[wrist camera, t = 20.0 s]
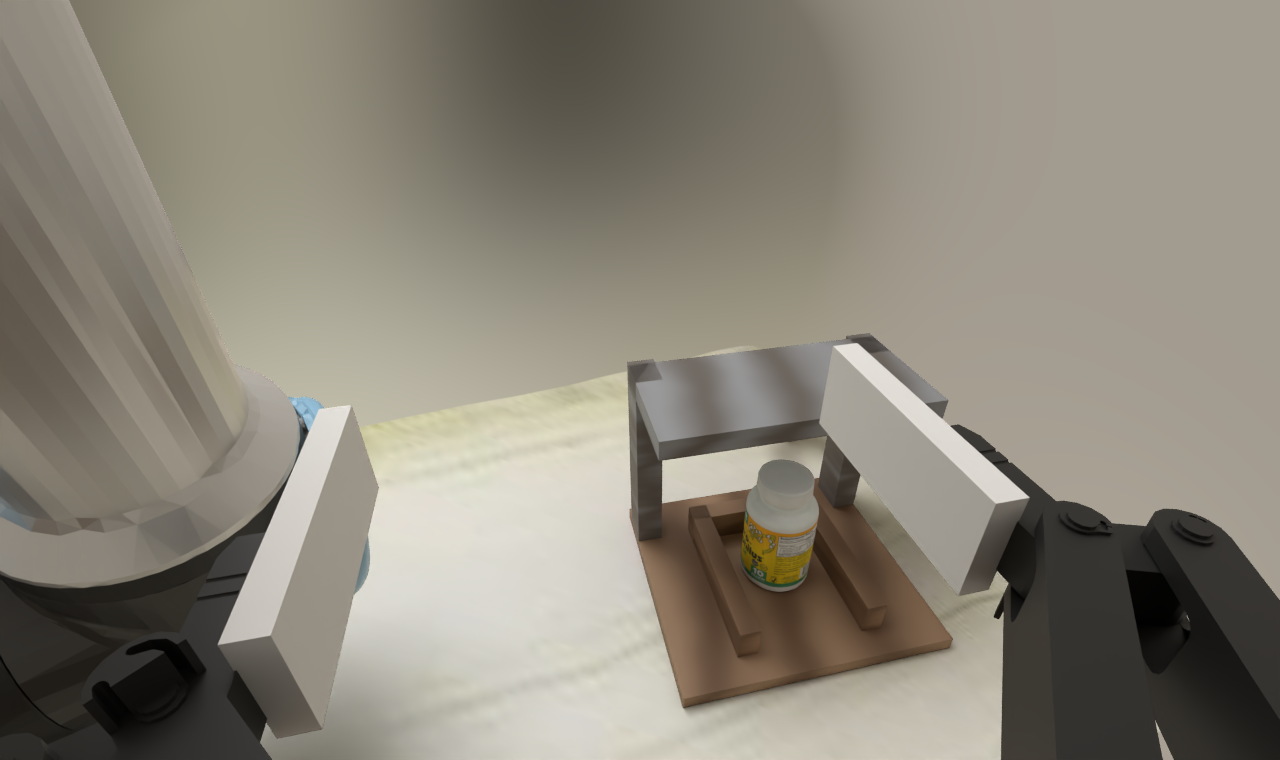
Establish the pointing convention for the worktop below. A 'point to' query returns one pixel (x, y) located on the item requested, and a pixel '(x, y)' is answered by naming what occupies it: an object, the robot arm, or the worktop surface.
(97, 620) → the robot arm
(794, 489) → the supplement bottle
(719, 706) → the worktop surface
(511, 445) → the worktop surface
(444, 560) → the worktop surface
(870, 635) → the keeper holder
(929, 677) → the worktop surface
